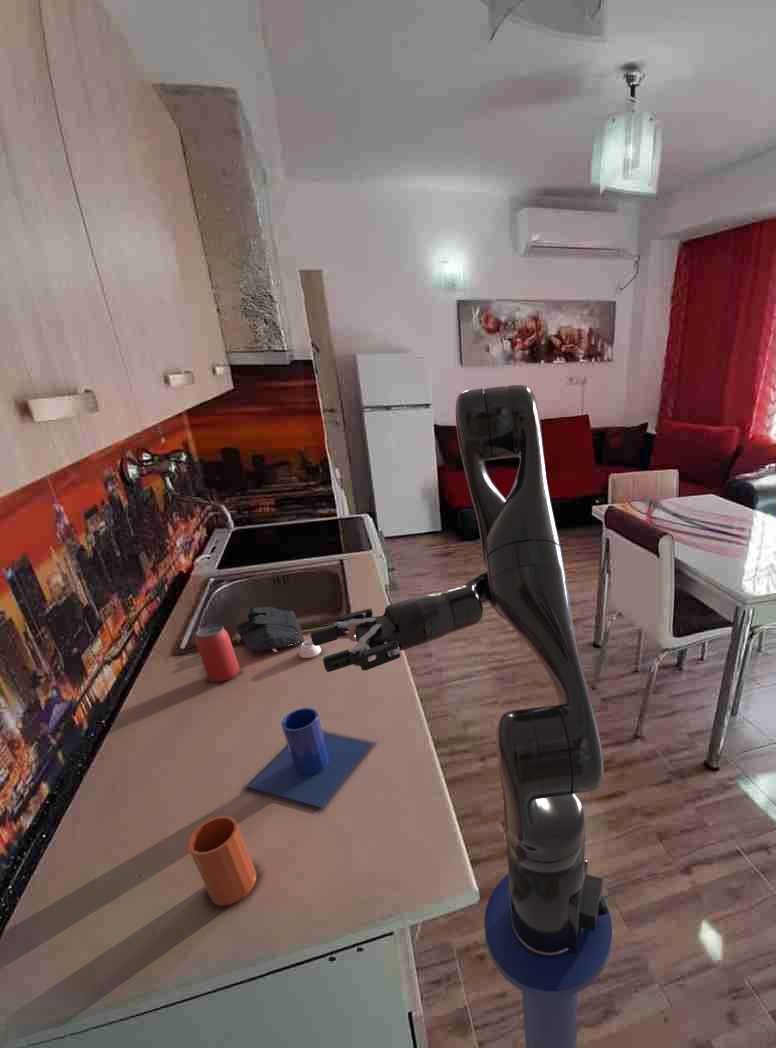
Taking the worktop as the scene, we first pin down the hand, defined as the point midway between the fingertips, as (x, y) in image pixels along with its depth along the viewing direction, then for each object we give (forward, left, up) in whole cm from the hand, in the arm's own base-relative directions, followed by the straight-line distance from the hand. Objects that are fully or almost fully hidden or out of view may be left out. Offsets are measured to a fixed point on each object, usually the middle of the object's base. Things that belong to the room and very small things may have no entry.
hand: (317, 651), depth 75 cm
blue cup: (+9, -2, -26) cm, 27 cm away
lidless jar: (+34, -32, -26) cm, 54 cm away
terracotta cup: (+5, +21, -26) cm, 33 cm away
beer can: (+48, -19, -26) cm, 58 cm away
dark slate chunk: (+51, -37, -26) cm, 68 cm away
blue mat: (+9, -1, -26) cm, 27 cm away
